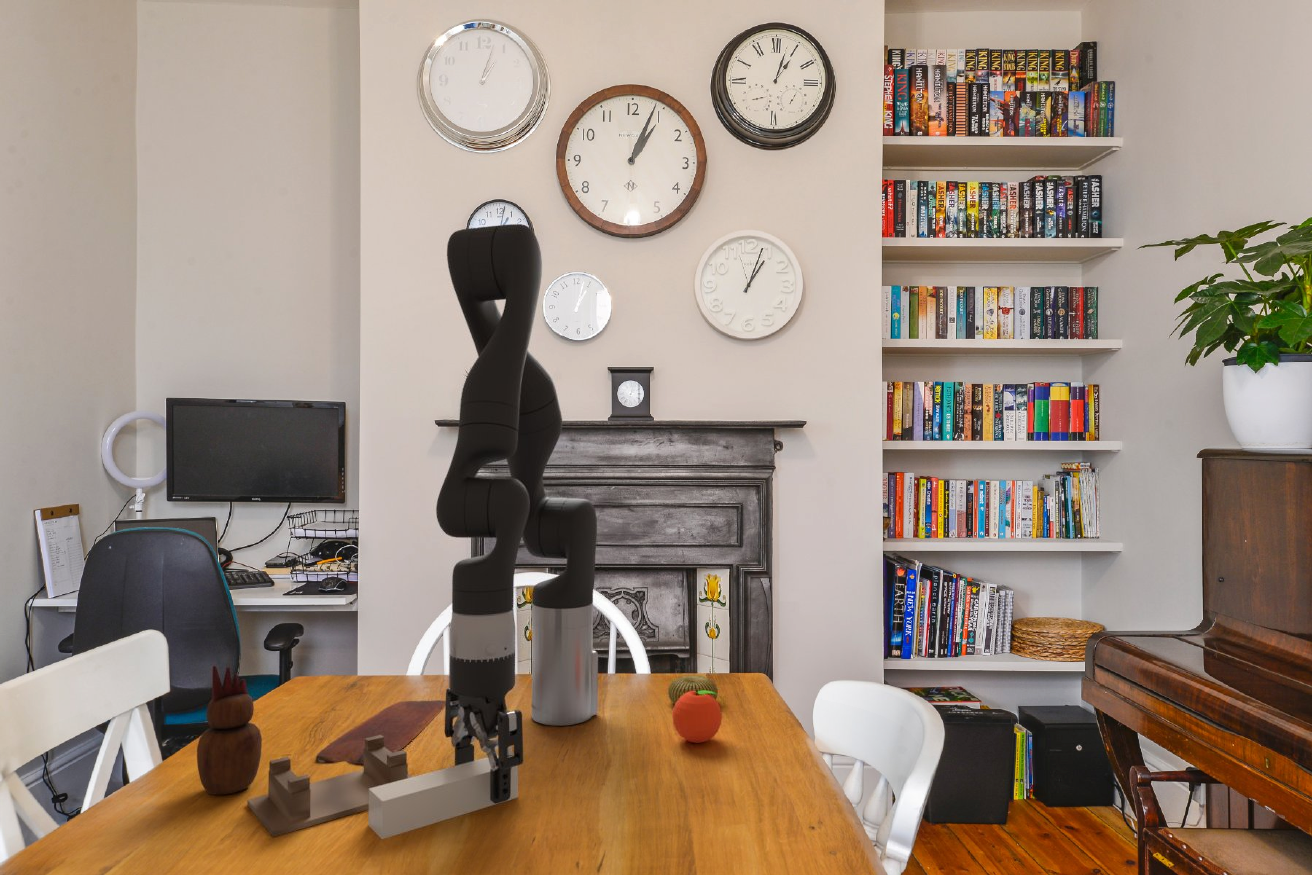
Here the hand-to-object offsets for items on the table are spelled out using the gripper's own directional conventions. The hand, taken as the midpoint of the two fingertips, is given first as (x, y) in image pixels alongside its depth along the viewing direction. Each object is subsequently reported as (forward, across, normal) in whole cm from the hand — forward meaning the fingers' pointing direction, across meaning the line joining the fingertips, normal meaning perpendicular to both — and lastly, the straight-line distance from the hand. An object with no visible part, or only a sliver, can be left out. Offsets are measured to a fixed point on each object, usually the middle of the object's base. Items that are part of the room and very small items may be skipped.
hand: (481, 788), depth 92 cm
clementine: (+1, -3, -32) cm, 33 cm away
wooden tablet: (+2, +30, -2) cm, 30 cm away
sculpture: (+2, +10, -43) cm, 44 cm away
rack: (+1, +11, +12) cm, 17 cm away
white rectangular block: (+1, 0, +4) cm, 5 cm away
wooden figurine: (+1, +22, +22) cm, 31 cm away
